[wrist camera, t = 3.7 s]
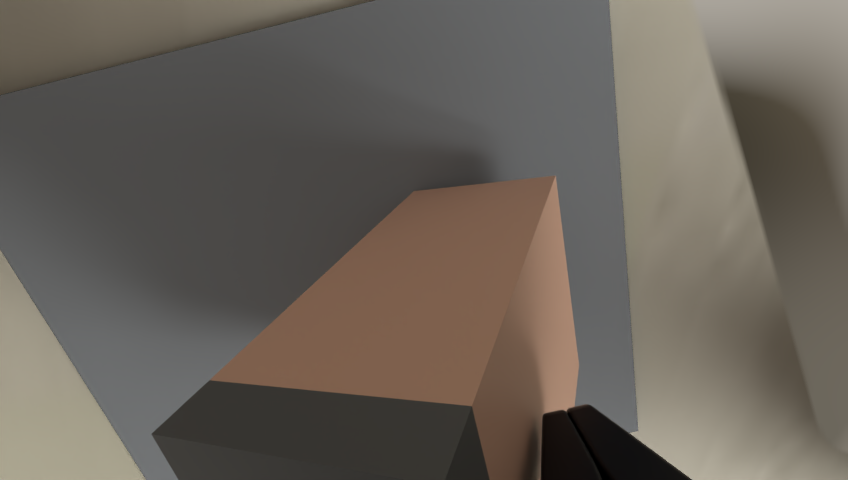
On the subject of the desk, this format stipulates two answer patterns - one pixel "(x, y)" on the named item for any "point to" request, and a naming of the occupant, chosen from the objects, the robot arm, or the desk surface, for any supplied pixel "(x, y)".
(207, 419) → the terracotta block
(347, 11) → the rubber mat
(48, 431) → the desk surface
